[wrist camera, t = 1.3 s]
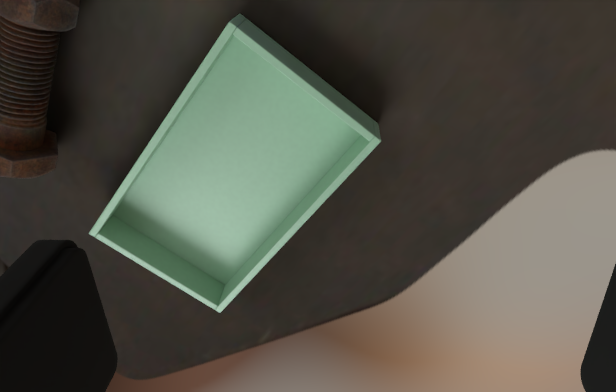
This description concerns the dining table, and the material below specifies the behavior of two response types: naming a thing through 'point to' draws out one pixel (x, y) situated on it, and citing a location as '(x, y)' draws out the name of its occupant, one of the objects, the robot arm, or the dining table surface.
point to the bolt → (29, 82)
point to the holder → (235, 167)
